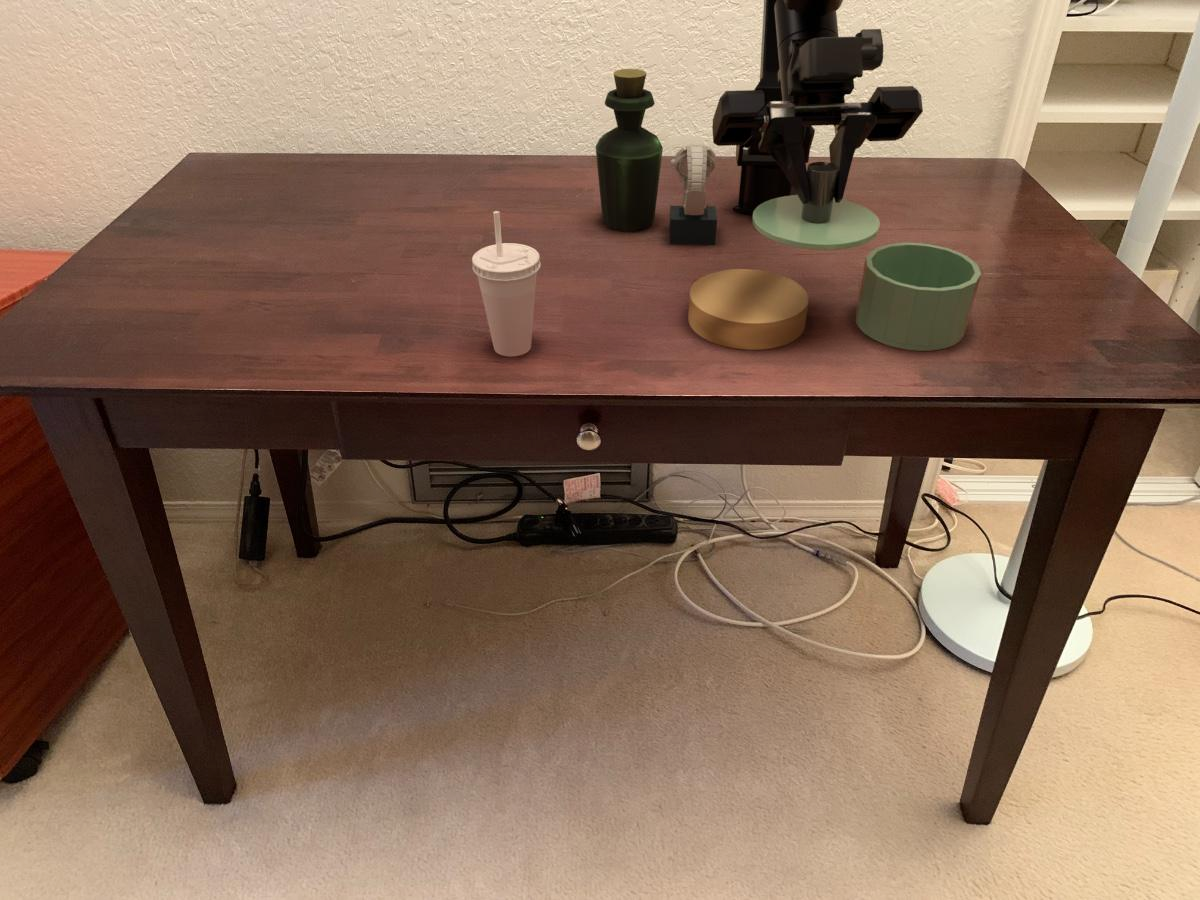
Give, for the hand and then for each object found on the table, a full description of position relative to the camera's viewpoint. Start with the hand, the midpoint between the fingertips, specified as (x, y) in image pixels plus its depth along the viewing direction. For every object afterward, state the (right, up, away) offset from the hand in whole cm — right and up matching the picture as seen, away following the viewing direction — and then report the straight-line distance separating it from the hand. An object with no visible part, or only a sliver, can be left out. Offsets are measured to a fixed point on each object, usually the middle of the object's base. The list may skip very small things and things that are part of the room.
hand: (822, 201), depth 85 cm
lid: (0, -1, +3) cm, 3 cm away
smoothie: (-30, -13, +6) cm, 33 cm away
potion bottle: (-17, +6, +31) cm, 35 cm away
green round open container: (+11, -10, +9) cm, 17 cm away
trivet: (-6, -10, +9) cm, 15 cm away
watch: (-10, +3, +27) cm, 28 cm away
